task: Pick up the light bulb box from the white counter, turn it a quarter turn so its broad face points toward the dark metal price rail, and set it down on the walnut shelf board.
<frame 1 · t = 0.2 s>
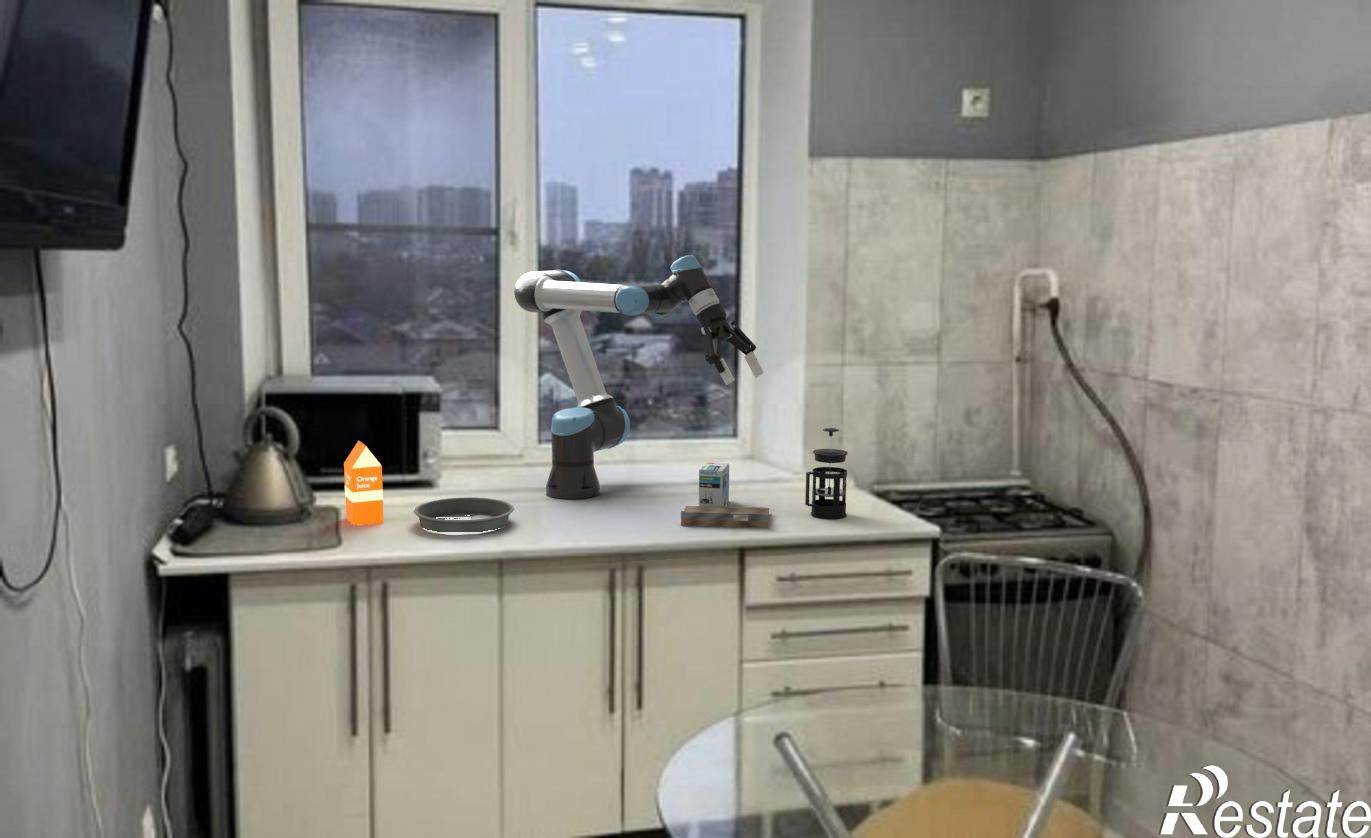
hand: (745, 379, 311), 35 cm above the table, tool tilted 35°, fingers open, 13 cm apart
shelf board: (726, 519, 304), on the table
cake pan: (464, 526, 297), on the table
orange juice: (364, 521, 300), on the table
light bulb box: (713, 505, 320), on the table
french press: (826, 516, 310), on the table
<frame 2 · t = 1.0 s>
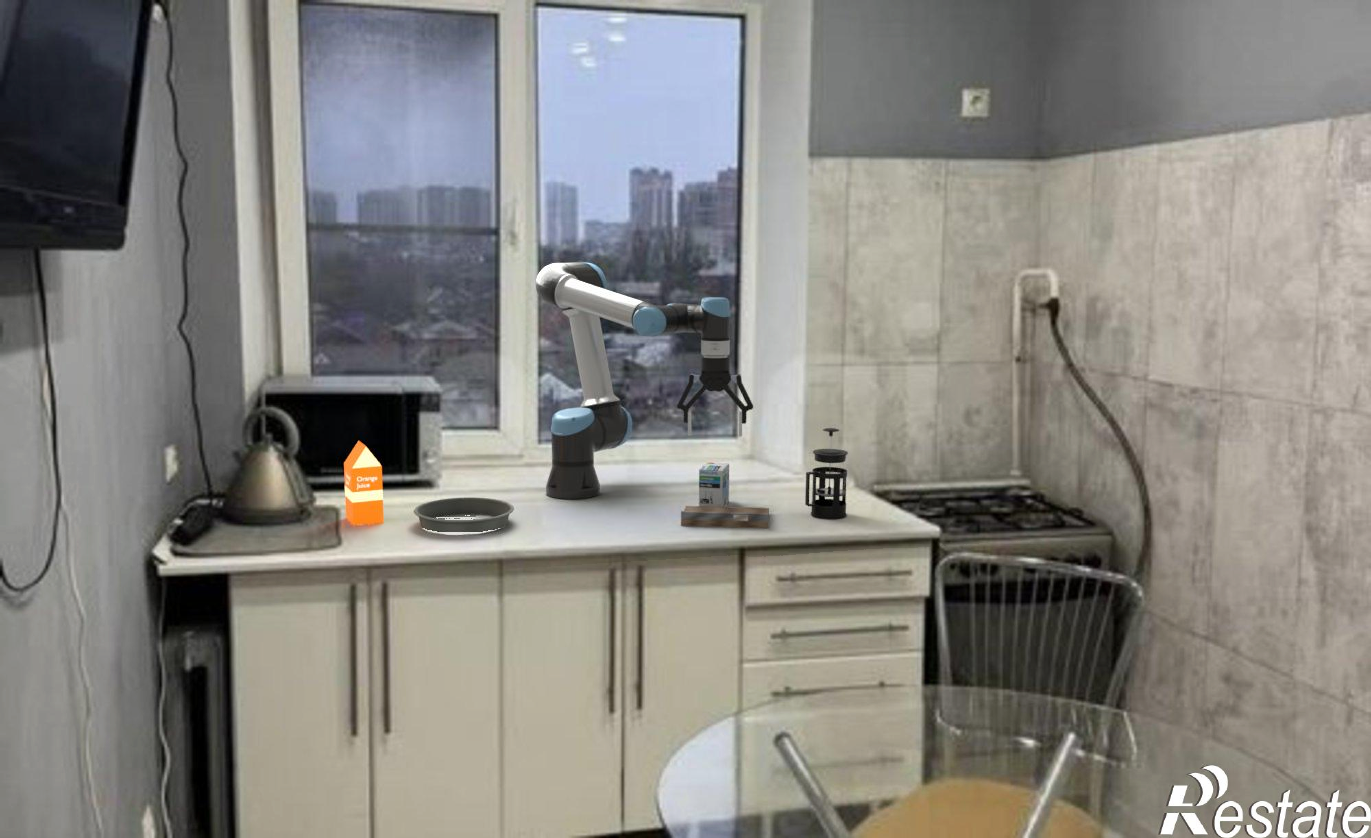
hand: (715, 435, 317), 19 cm above the table, tool pointing down, fingers open, 13 cm apart
nothing on the table moved.
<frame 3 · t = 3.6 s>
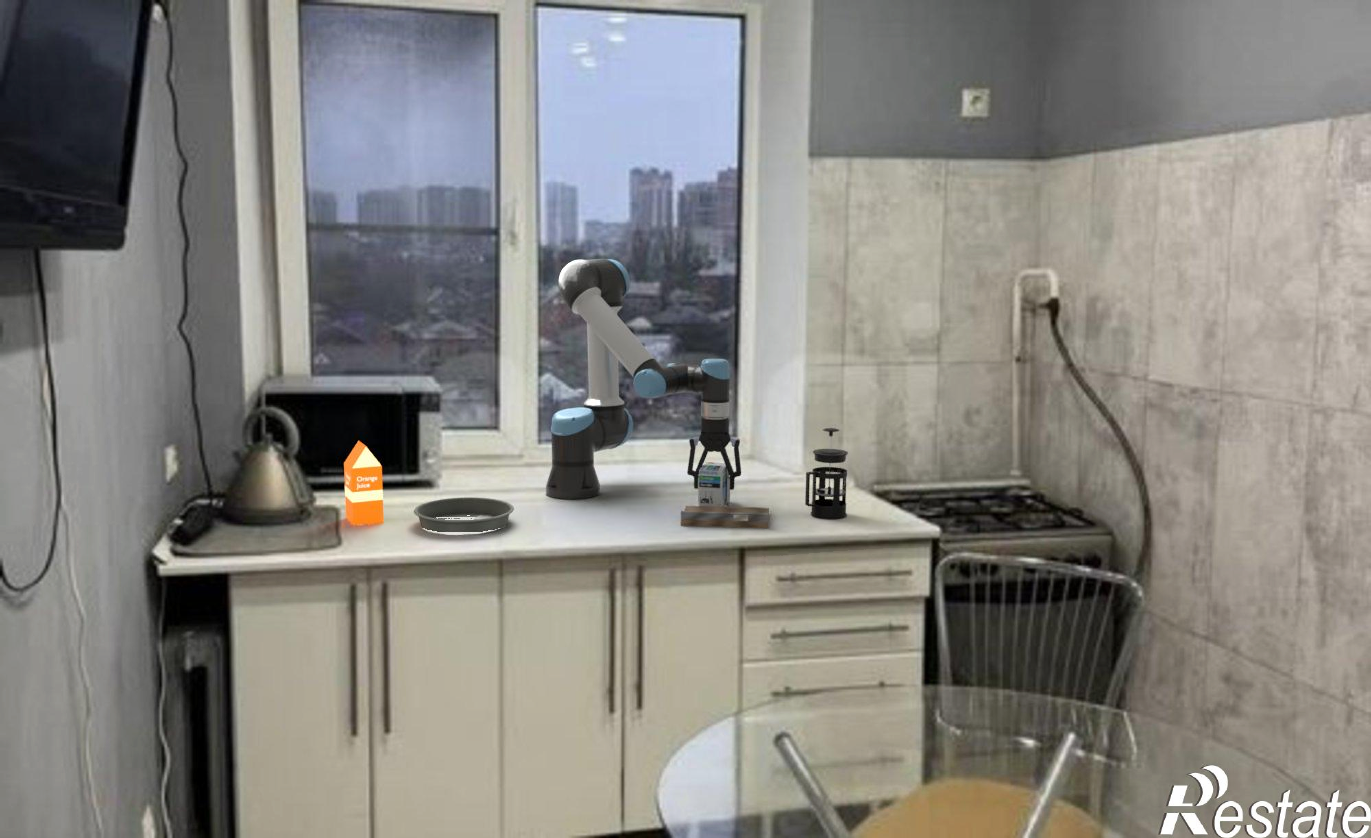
hand: (713, 500, 320), 1 cm above the table, tool pointing down, fingers closed on light bulb box, 7 cm apart
light bulb box: (713, 505, 320), on the table, touching gripper
everything else where it was.
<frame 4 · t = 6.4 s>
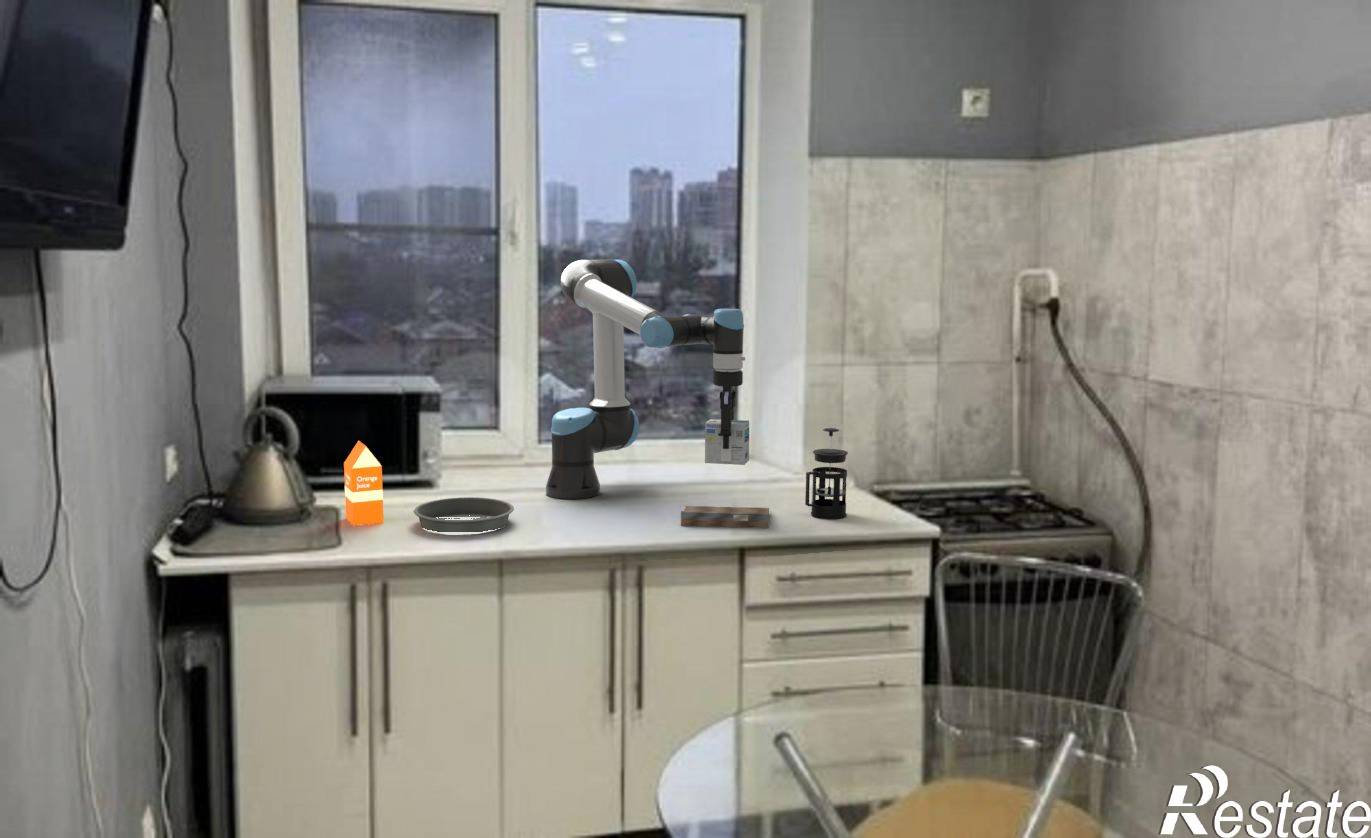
hand: (727, 457, 306), 15 cm above the table, tool pointing down, fingers closed on light bulb box, 7 cm apart
light bulb box: (727, 462, 306), point 14 cm above the table, touching gripper
everything else where it was.
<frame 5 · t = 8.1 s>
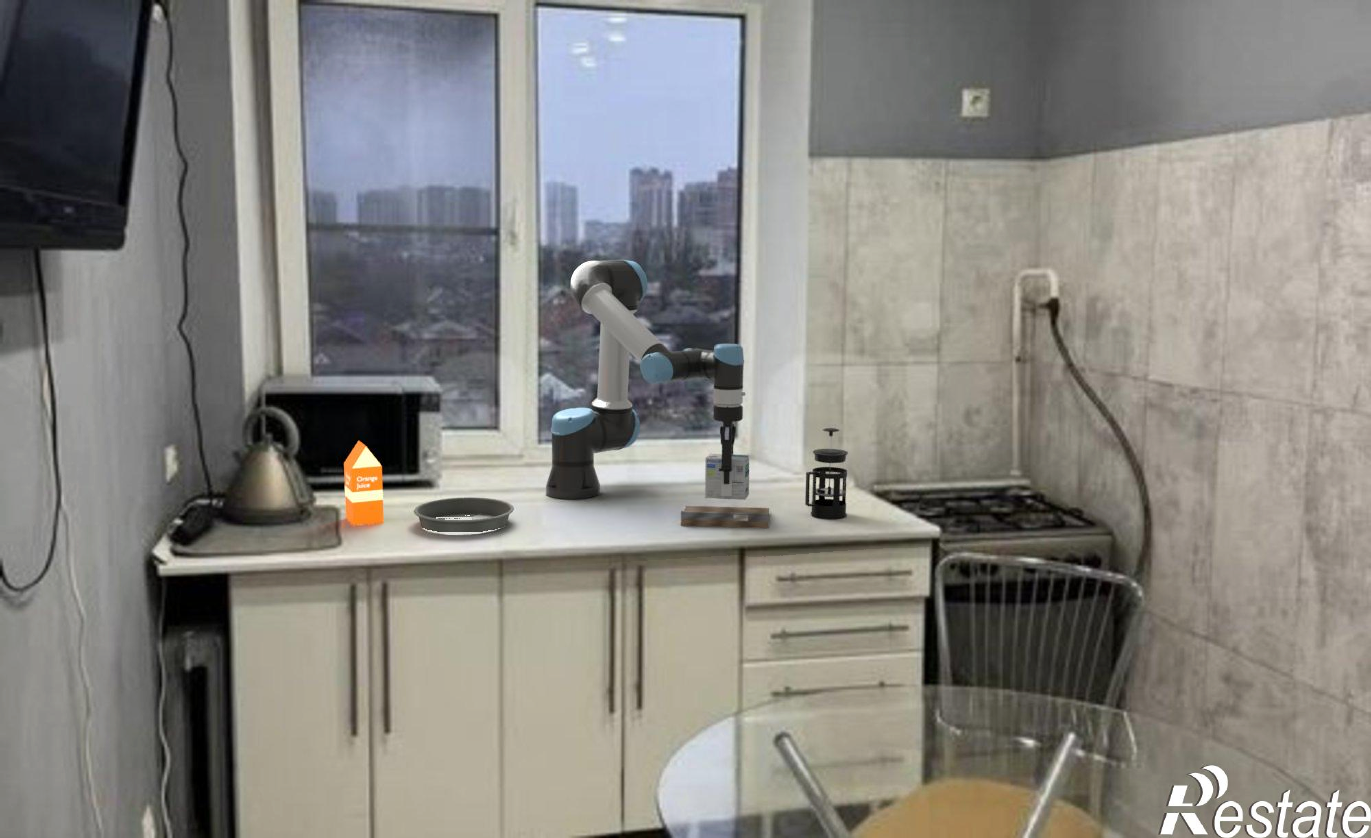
hand: (727, 492, 306), 6 cm above the table, tool pointing down, fingers closed on light bulb box, 7 cm apart
light bulb box: (727, 497, 306), point 5 cm above the table, touching gripper
everything else where it was.
when the fingers open (4 cm above the table, at t = 9.3 s): light bulb box drops 2 cm, resting on shelf board.
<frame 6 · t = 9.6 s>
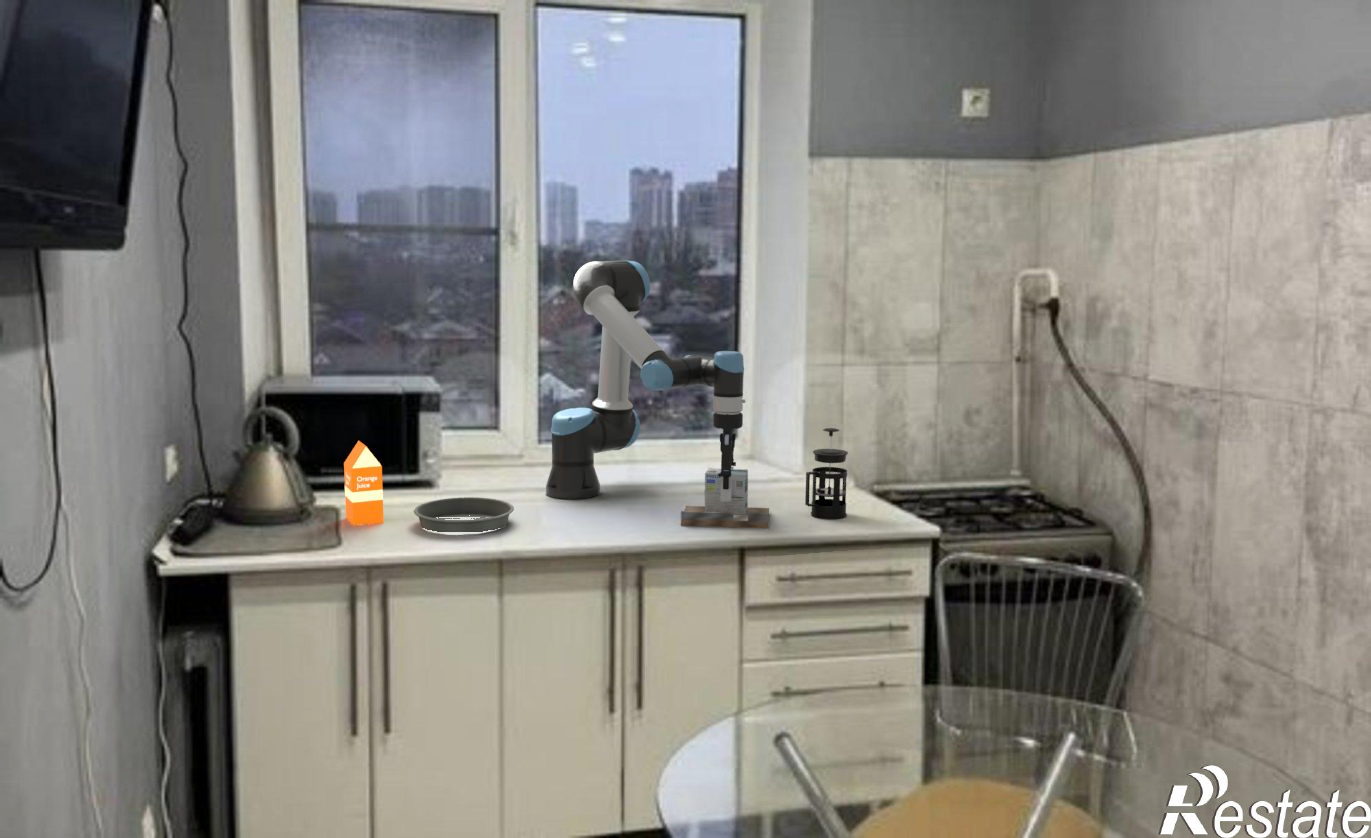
hand: (726, 495, 306), 5 cm above the table, tool pointing down, fingers open, 11 cm apart
light bulb box: (726, 512, 307), point 1 cm above the table, touching shelf board
everything else where it was.
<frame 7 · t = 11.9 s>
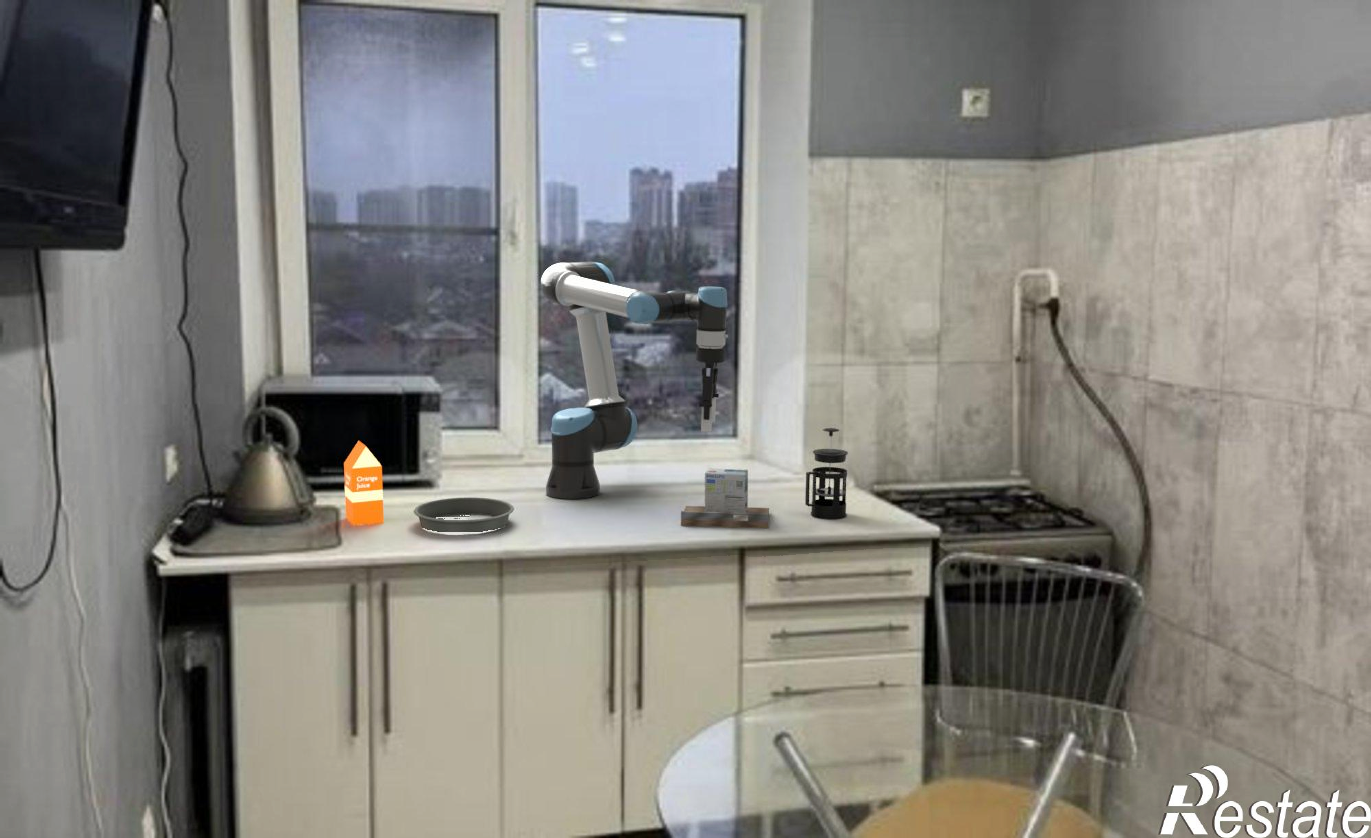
hand: (708, 426, 312), 22 cm above the table, tool pointing down, fingers open, 13 cm apart
nothing on the table moved.
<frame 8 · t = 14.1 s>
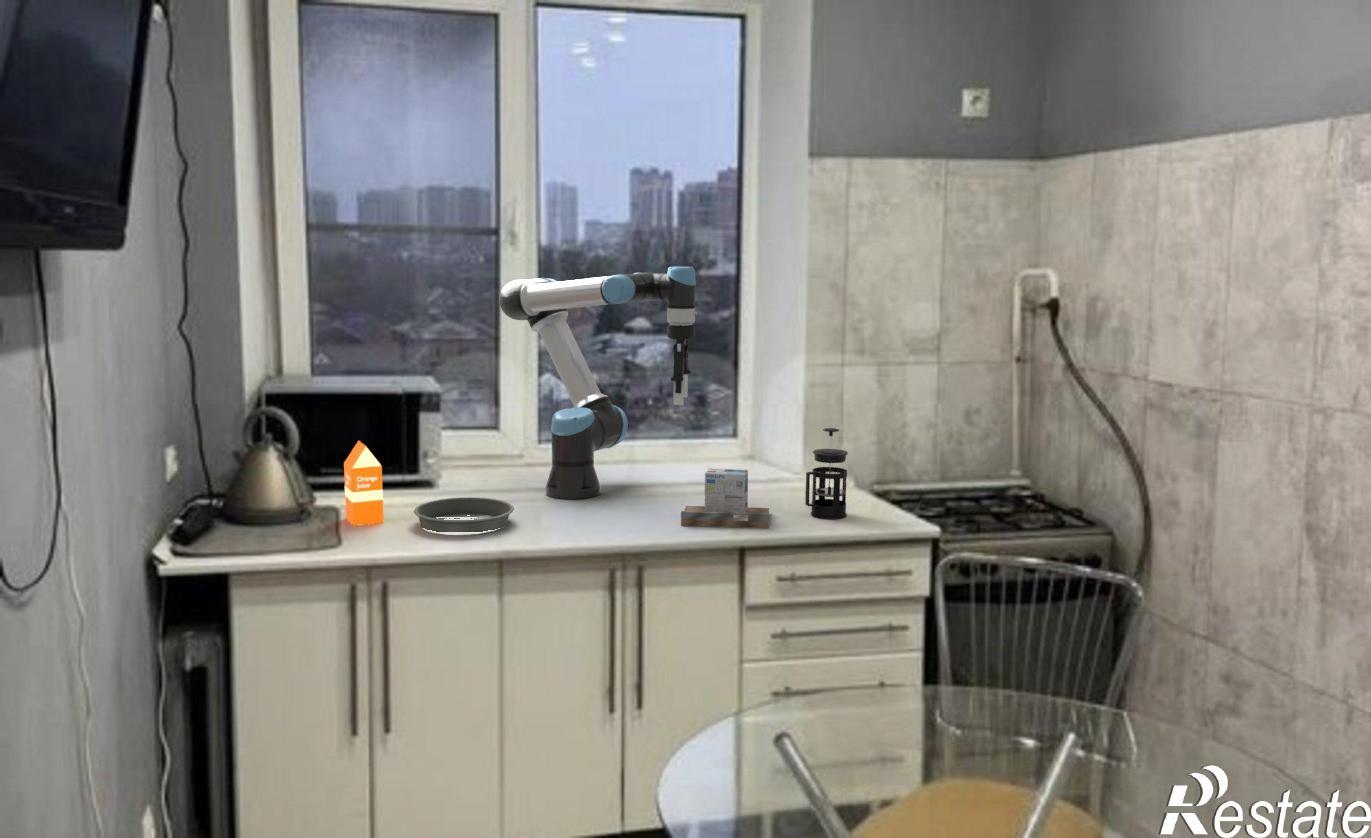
hand: (680, 401, 325), 27 cm above the table, tool pointing down, fingers open, 13 cm apart
nothing on the table moved.
at the end: light bulb box inside the target area (0.4 cm from its centre), point 1.3 cm above the table; light bulb box tilted 0°; the gripper is holding nothing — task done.
